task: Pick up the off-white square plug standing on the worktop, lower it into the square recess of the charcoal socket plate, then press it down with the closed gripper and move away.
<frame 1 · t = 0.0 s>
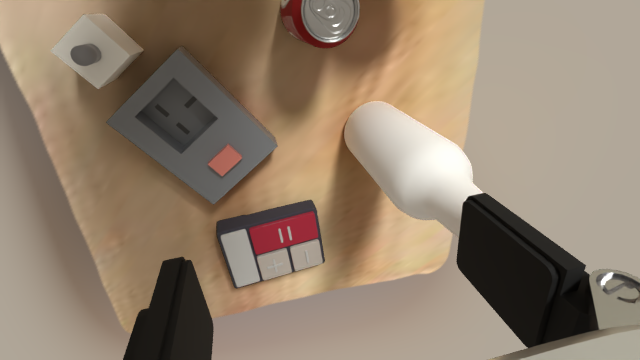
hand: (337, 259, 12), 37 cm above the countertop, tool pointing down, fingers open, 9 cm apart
socket plate: (200, 126, 45), on the countertop
button control panel: (271, 236, 56), on the countertop
plug: (110, 47, 39), on the countertop
soda can: (306, 11, 42), on the countertop
alcohol: (370, 128, 51), on the countertop
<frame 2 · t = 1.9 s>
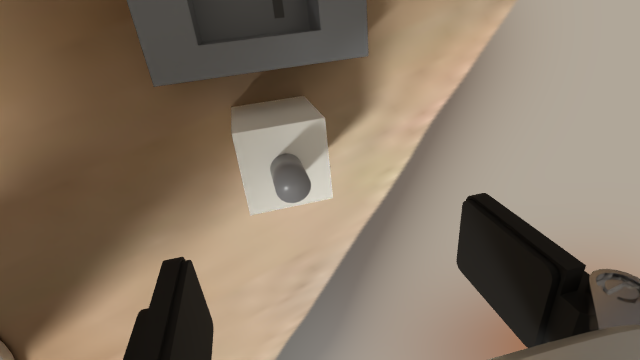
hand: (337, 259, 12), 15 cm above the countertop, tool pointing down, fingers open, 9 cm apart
plug: (273, 135, 24), on the countertop
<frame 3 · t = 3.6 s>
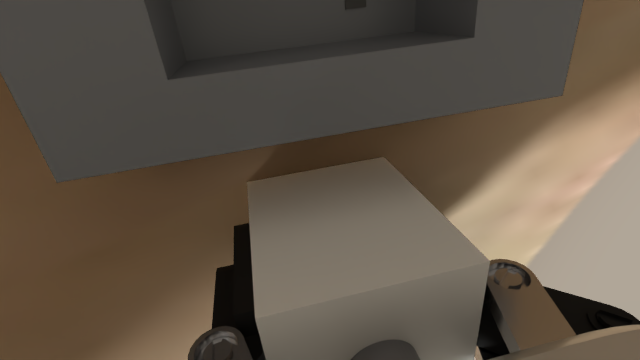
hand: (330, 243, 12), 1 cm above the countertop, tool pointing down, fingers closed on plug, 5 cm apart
plug: (324, 226, 13), on the countertop, touching gripper
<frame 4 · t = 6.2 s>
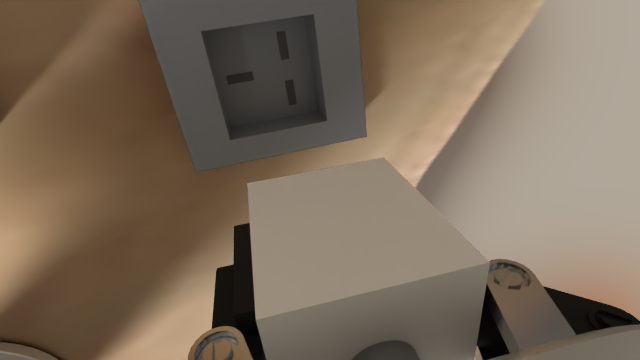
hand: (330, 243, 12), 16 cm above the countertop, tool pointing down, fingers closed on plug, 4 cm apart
socket plate: (256, 26, 23), on the countertop
plug: (324, 227, 13), point 15 cm above the countertop, touching gripper
when the fingers open (5 cm above the countertop, at t = 8.9 s): plug drops 3 cm, resting on socket plate.
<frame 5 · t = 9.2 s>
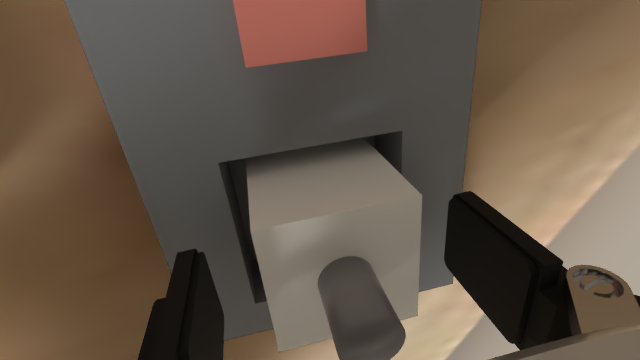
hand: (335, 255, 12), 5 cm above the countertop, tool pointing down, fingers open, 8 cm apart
socket plate: (299, 125, 15), on the countertop
plug: (309, 191, 16), point 1 cm above the countertop, touching socket plate
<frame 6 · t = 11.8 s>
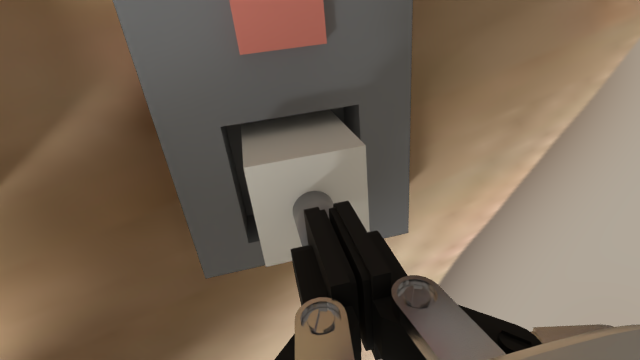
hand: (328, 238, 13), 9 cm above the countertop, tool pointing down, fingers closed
socket plate: (283, 104, 19), on the countertop
plug: (292, 158, 20), point 1 cm above the countertop, touching gripper, socket plate
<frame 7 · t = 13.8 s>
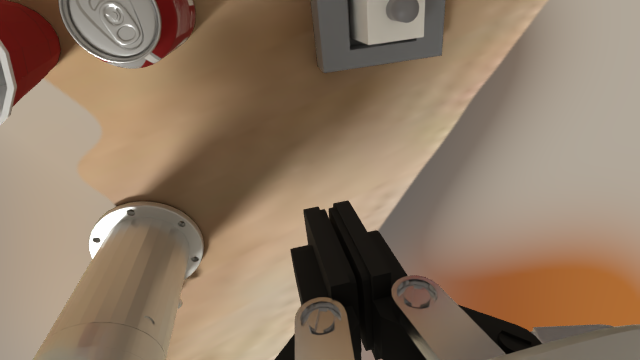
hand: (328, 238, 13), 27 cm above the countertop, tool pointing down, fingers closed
plastic cup: (21, 38, 30), on the countertop
plug: (373, 6, 34), point 1 cm above the countertop, touching socket plate
soda can: (157, 8, 31), on the countertop
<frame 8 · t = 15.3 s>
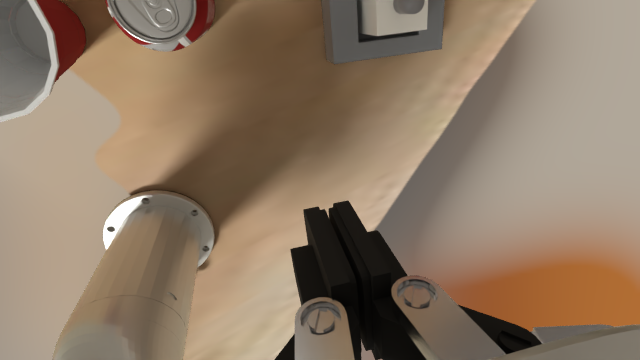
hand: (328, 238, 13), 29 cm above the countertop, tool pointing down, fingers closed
plastic cup: (49, 30, 32), on the countertop
plug: (378, 4, 36), point 1 cm above the countertop, touching socket plate
soda can: (179, 3, 33), on the countertop
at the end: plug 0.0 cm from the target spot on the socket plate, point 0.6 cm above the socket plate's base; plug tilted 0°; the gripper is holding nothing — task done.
